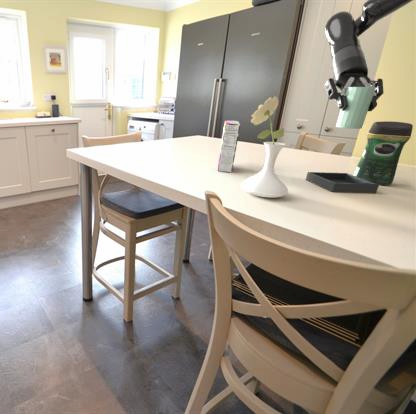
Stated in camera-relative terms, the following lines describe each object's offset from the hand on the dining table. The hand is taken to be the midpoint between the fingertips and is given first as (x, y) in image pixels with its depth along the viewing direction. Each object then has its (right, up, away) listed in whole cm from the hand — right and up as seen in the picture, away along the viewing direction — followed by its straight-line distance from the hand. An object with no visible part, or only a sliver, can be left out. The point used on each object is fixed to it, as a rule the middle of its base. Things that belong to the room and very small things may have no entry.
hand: (358, 108), depth 80 cm
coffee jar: (+14, -20, +11) cm, 27 cm away
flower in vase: (-29, -25, -3) cm, 38 cm away
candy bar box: (-28, -14, +23) cm, 39 cm away
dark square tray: (-1, -21, +6) cm, 22 cm away
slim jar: (0, -4, +4) cm, 6 cm away
